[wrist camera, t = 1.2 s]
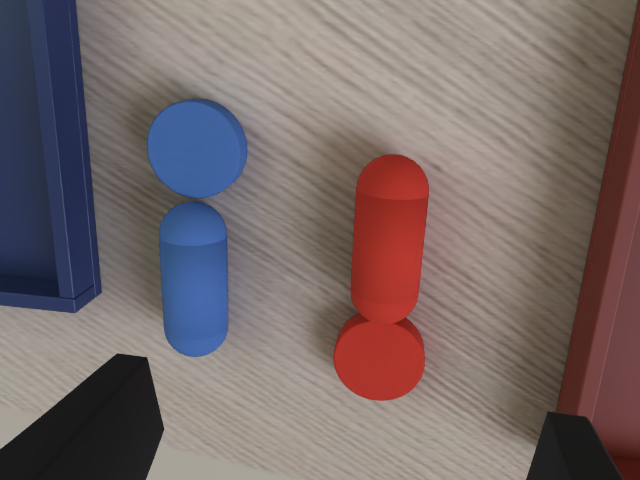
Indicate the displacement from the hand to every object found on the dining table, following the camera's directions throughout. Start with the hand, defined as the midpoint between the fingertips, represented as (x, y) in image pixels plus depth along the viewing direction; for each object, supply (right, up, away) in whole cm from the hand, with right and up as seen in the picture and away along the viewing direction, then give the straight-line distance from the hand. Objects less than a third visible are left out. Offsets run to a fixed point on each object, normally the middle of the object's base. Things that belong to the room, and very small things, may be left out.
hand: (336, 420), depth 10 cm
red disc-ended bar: (+2, +2, +11) cm, 11 cm away
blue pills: (-5, +4, +11) cm, 13 cm away
